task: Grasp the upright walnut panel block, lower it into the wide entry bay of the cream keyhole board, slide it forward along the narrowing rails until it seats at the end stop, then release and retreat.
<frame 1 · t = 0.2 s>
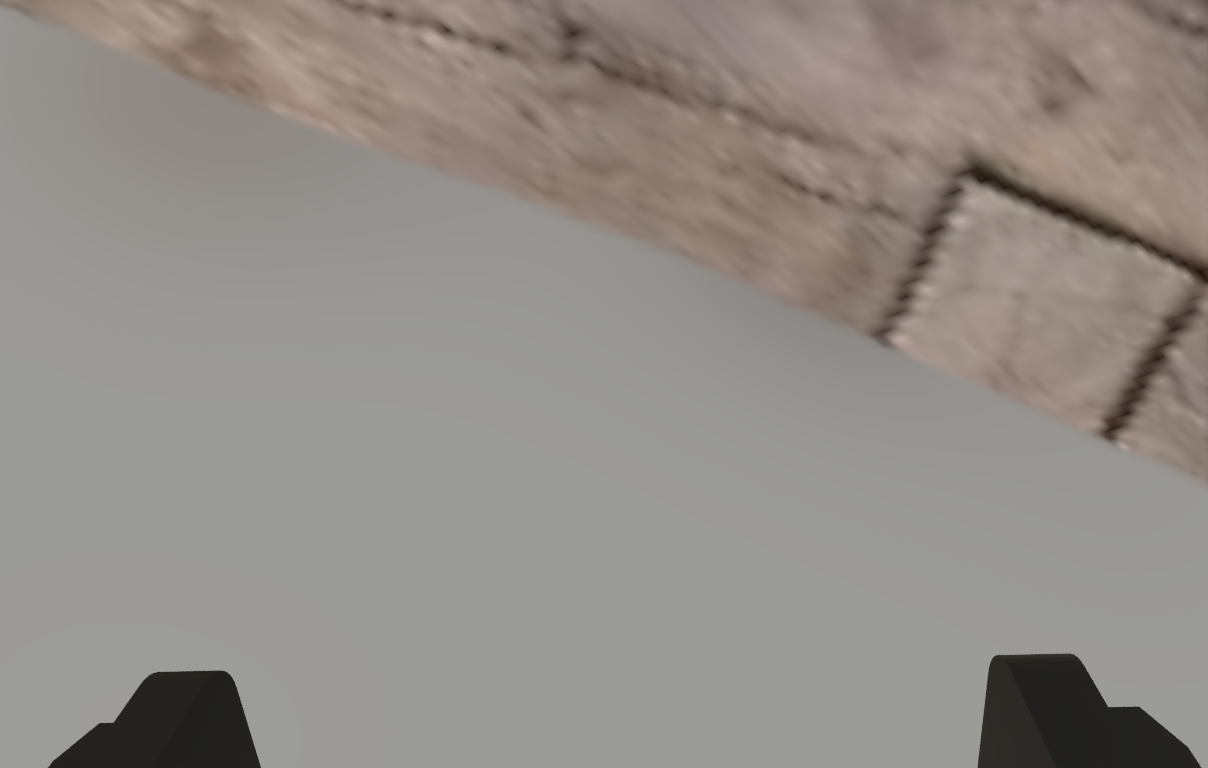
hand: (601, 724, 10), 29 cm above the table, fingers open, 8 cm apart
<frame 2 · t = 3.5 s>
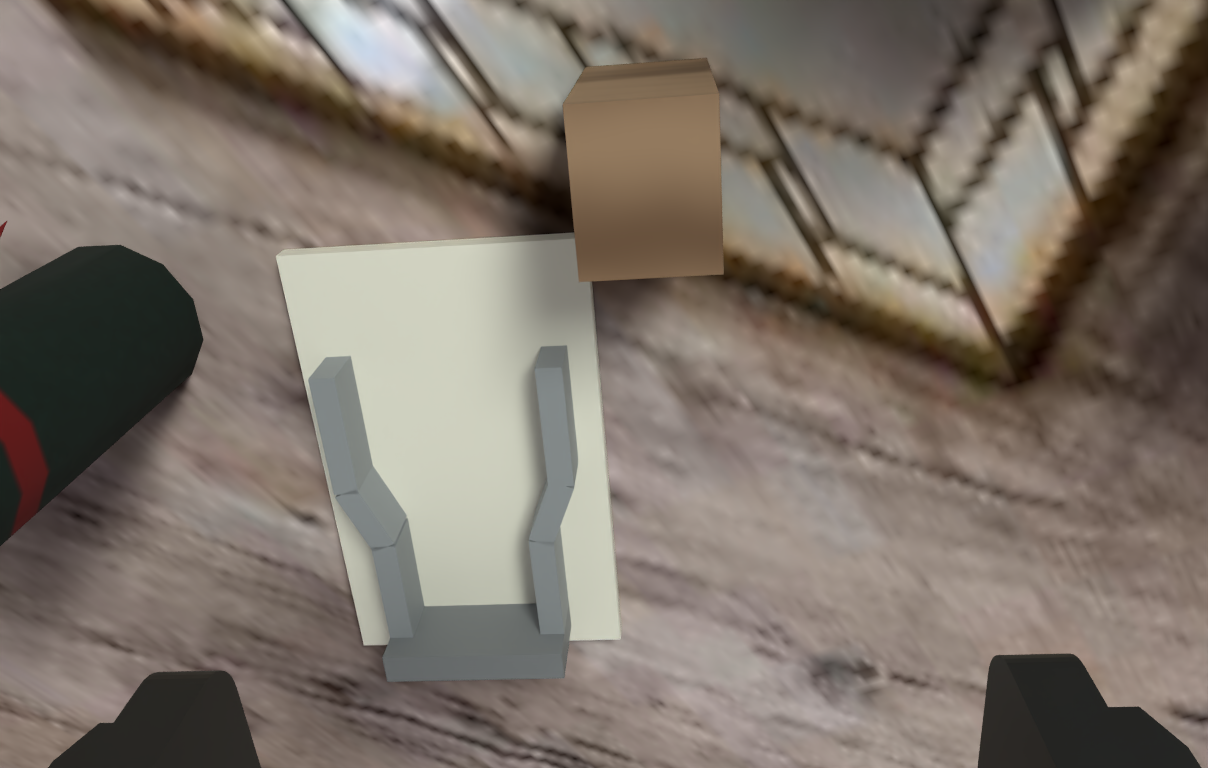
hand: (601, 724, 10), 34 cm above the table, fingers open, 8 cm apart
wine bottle: (111, 299, 46), on the table
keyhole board: (466, 454, 48), on the table
panel block: (649, 136, 41), on the table
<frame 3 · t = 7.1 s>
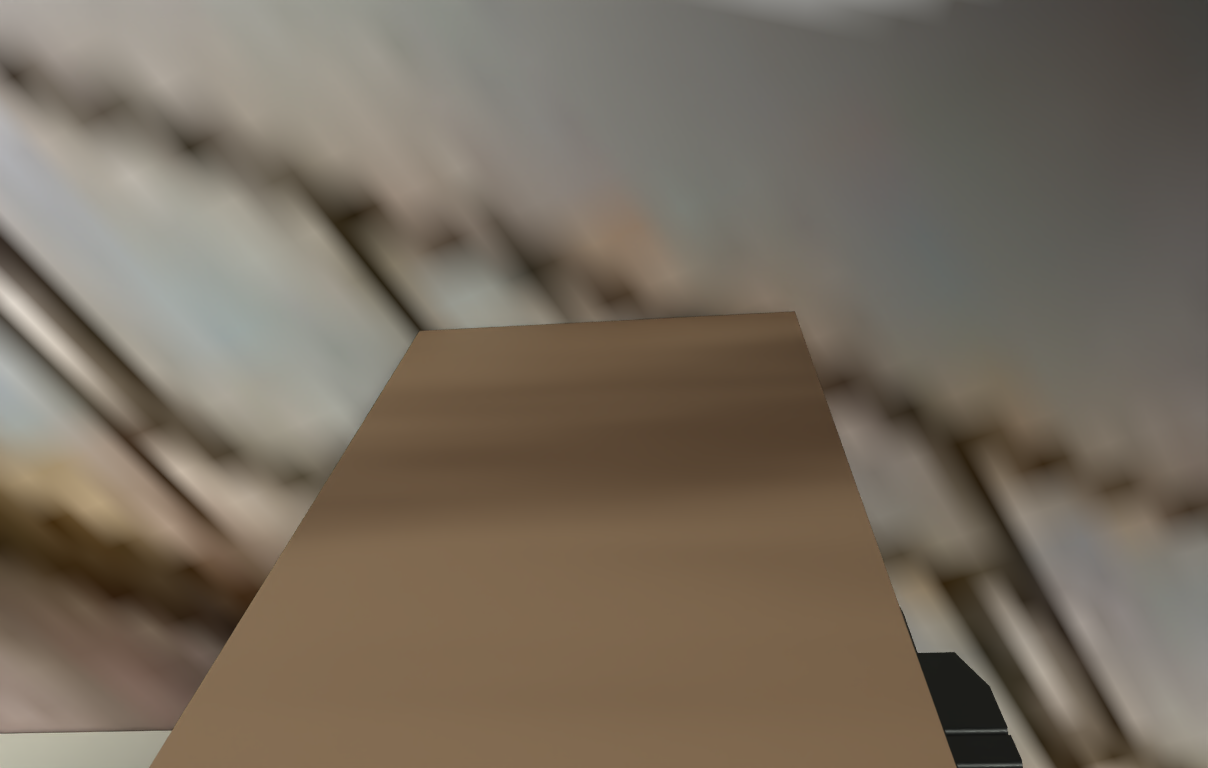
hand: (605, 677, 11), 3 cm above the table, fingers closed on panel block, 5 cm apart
panel block: (619, 513, 14), on the table, touching gripper
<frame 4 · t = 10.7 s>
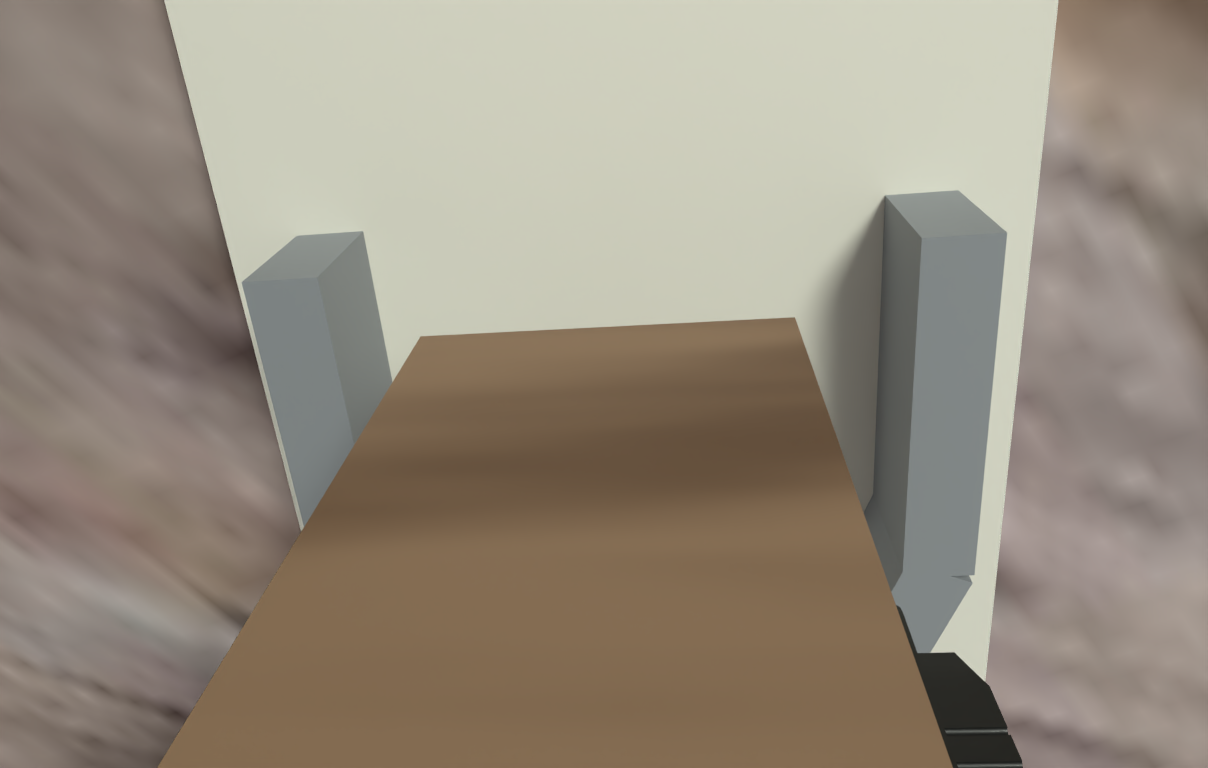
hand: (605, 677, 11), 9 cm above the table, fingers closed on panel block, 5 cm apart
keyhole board: (642, 483, 20), on the table
panel block: (620, 518, 14), point 5 cm above the table, touching gripper
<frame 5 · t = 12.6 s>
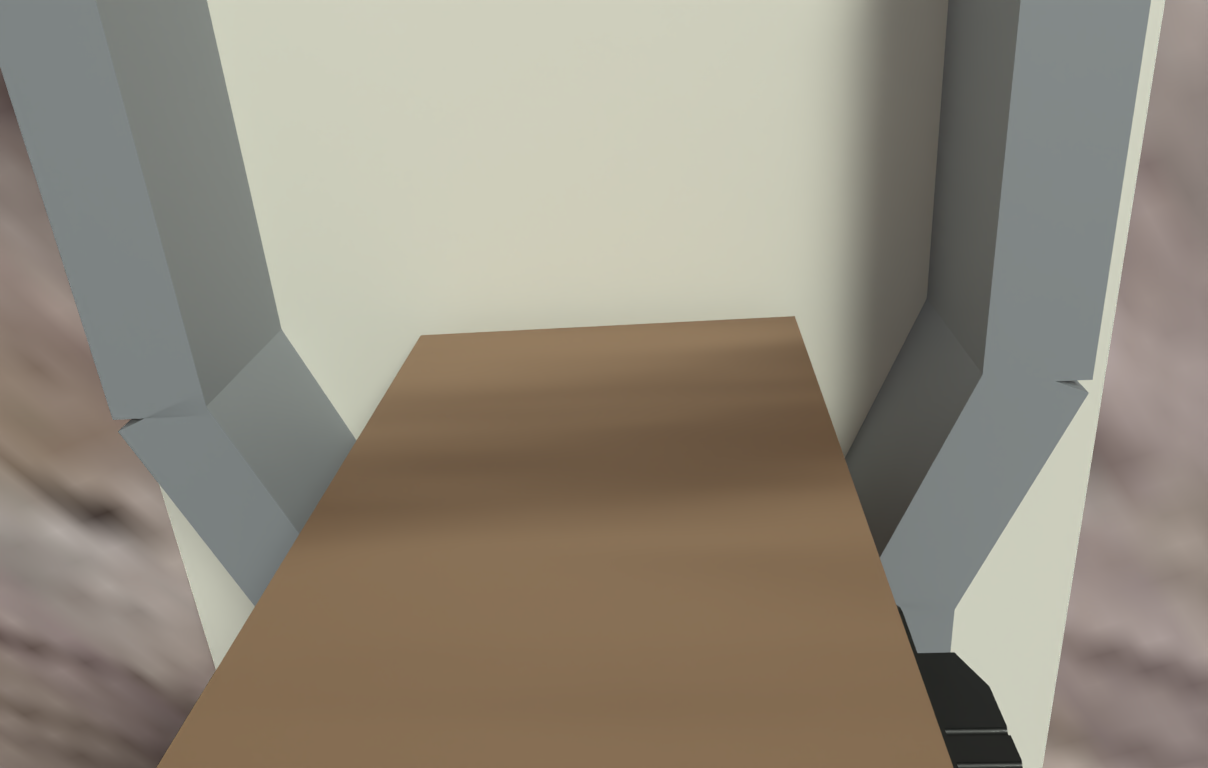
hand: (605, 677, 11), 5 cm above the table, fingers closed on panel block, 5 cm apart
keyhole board: (600, 297, 14), on the table
panel block: (620, 517, 14), point 2 cm above the table, touching gripper
when the fingers open (5 cm above the table, at t = 14.3 s): panel block stays where it is, resting on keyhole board.
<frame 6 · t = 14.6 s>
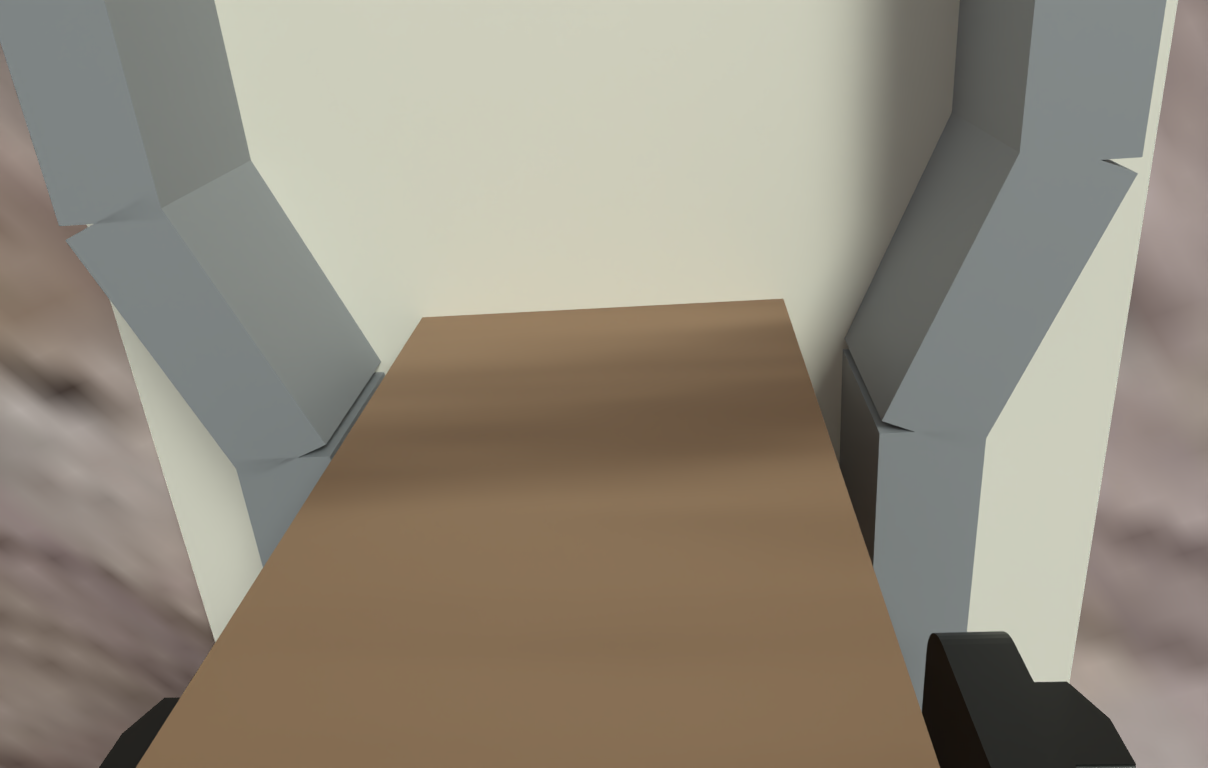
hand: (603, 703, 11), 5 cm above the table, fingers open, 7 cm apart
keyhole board: (596, 132, 13), on the table
panel block: (615, 494, 15), point 1 cm above the table, touching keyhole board
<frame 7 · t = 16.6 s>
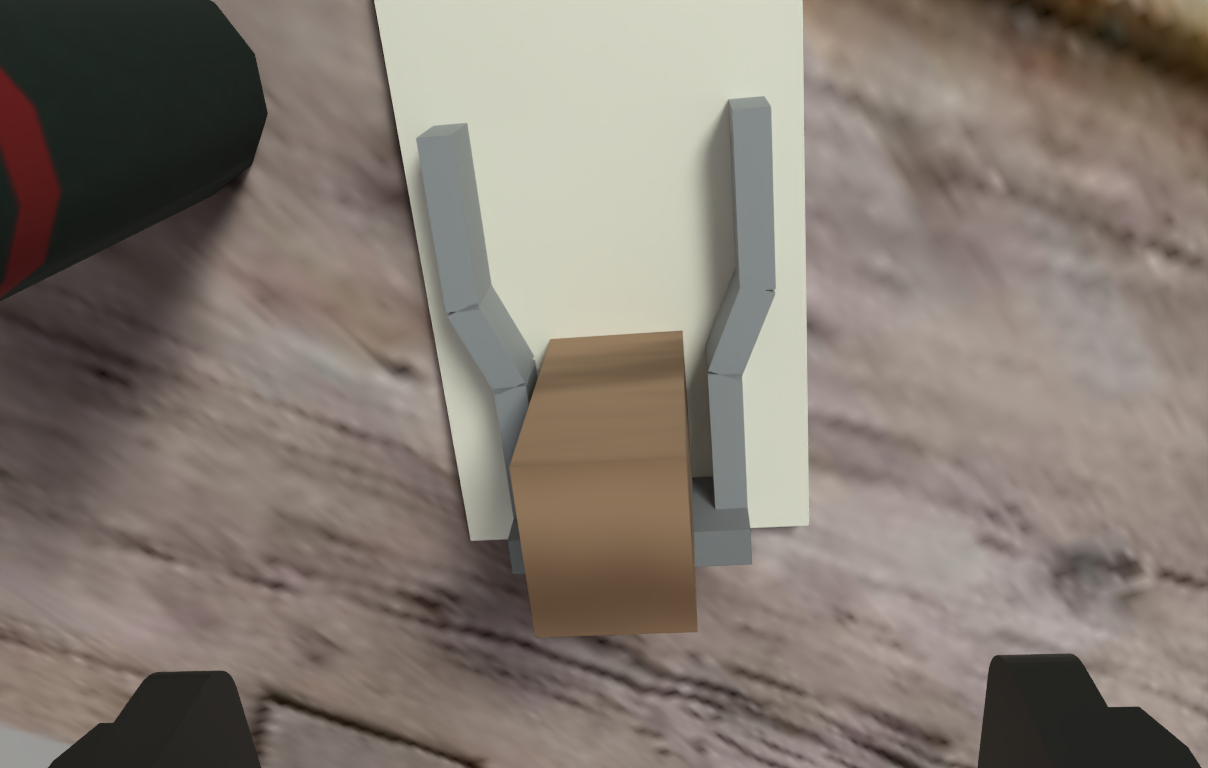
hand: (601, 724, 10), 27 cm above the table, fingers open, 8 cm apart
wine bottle: (146, 60, 34), on the table
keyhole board: (613, 270, 36), on the table
panel block: (622, 406, 37), point 1 cm above the table, touching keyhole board
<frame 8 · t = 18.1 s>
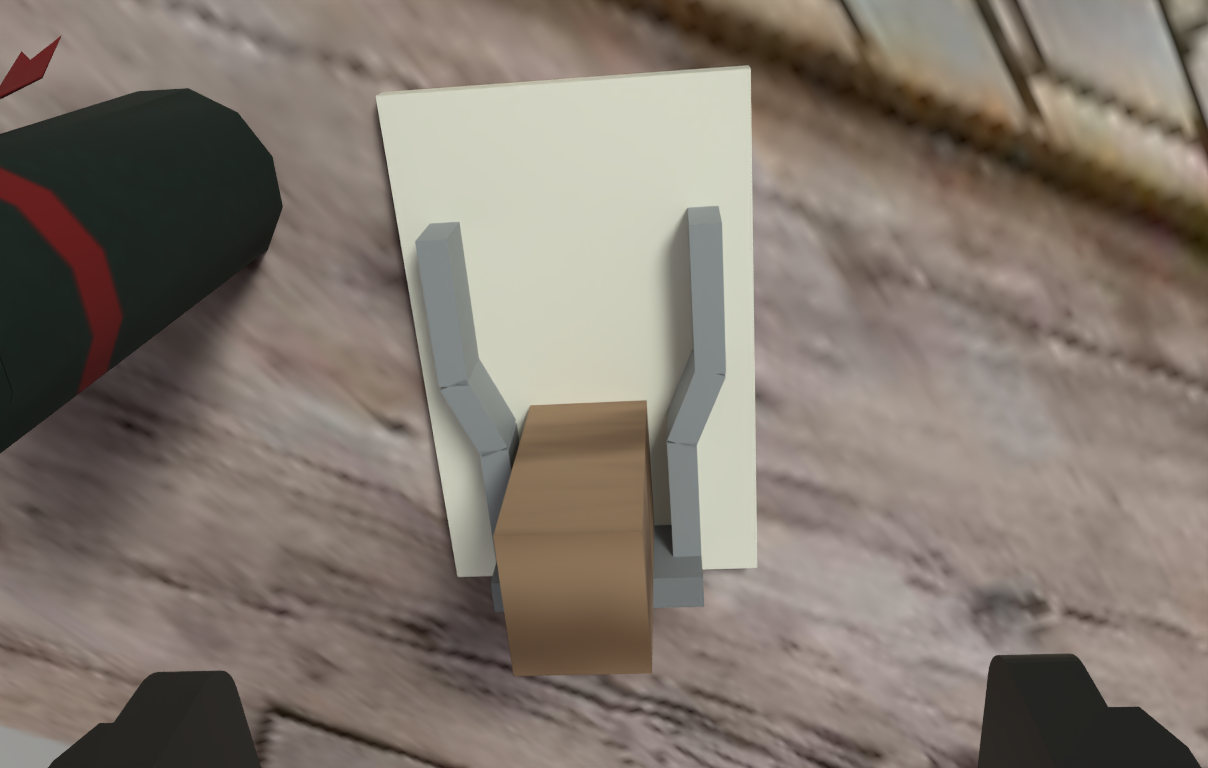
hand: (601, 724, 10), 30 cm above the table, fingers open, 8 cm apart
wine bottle: (175, 158, 39), on the table
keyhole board: (587, 346, 41), on the table
panel block: (593, 463, 42), point 1 cm above the table, touching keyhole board
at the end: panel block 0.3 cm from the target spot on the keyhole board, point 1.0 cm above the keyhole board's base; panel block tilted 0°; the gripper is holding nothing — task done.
